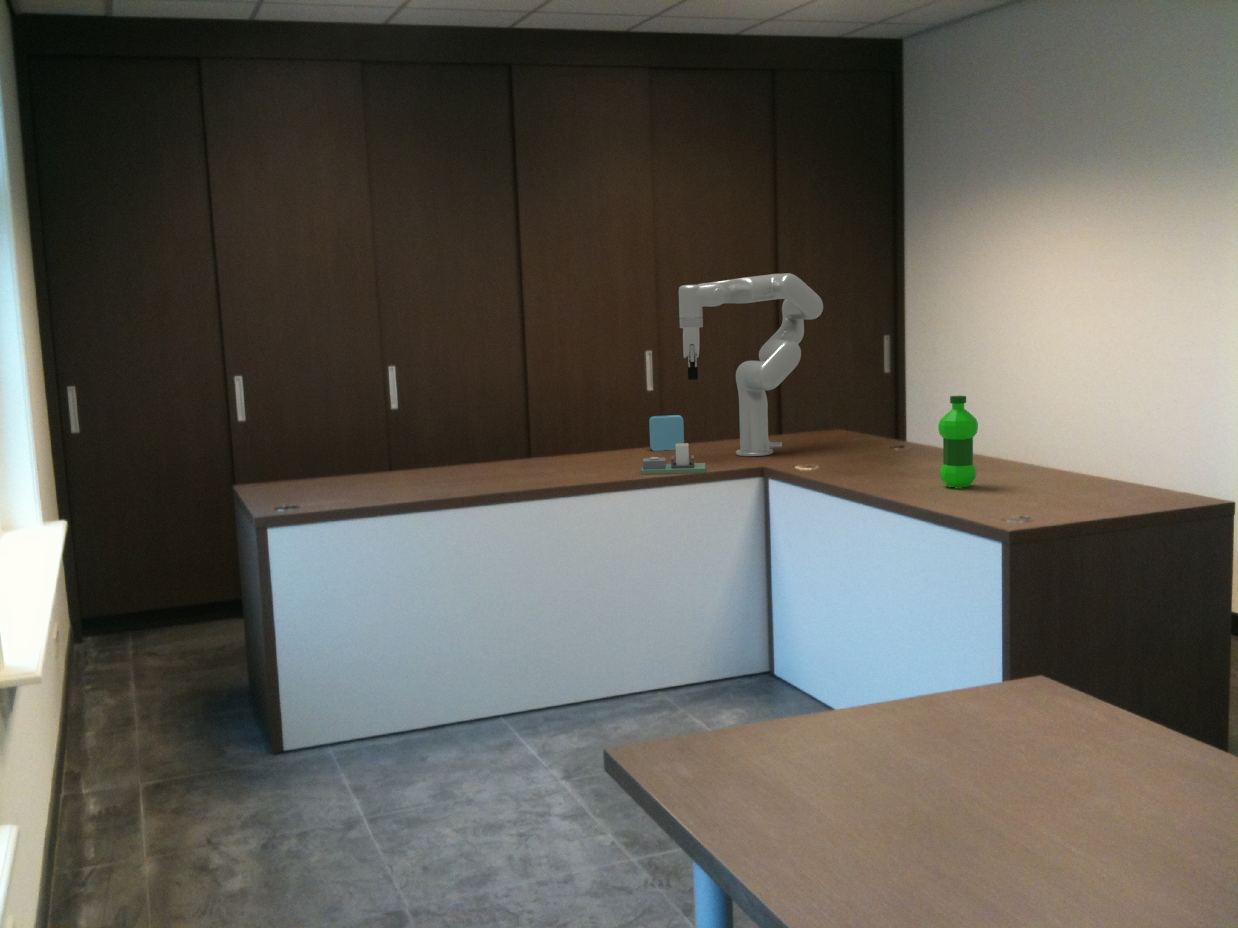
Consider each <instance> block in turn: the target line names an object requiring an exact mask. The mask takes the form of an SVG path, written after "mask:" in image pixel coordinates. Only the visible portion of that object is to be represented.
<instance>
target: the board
mask: <svg viewBox="0 0 1238 928" xmlns="http://www.w3.org/2000/svg"><path fill="white" fill-rule="evenodd" d="M690 457H691V459H690V460H691V461H689V465H676V462H675V456H674V455H671V457H670V458H671V459H670V461H671V462H670V463H668V464H667V463H666V462H667V461H666V457H659V456H652V457H645V458H644V457H643V459H642V466H641V470H640V474H641V475H669V474H696V473H697V474H700V473H701V474H703V473H706V463H705V462H695V455H694V454H692V455H691V456H690Z"/></svg>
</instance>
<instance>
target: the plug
mask: <svg viewBox="0 0 1238 928" xmlns="http://www.w3.org/2000/svg"><path fill="white" fill-rule="evenodd" d="M689 451H690V450H689V443H687V442H684V443H680V444H676V450H675V463H676V465H689V462H690V453H689Z"/></svg>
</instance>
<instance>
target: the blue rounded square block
mask: <svg viewBox="0 0 1238 928" xmlns="http://www.w3.org/2000/svg"><path fill="white" fill-rule="evenodd" d="M684 422H685V421H684V418H683V416H681V415H679V414H677V415H676V414H673V415H654V416H650V417H649V420H648V424H649V427H648V428H649V446H650V450H652V451H653V452H665V451H664V450H669V451H676V444H680V443H685V424H684Z"/></svg>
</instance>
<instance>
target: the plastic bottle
mask: <svg viewBox="0 0 1238 928" xmlns="http://www.w3.org/2000/svg"><path fill="white" fill-rule="evenodd" d="M949 404H951V409H950V410H949V411H948V412H947V413H946V414H945V415H943V417H941V419H940V420H939V422H938V429H937V430H938V433H939V435H940V436H941V437H942V445H943V448H942V449H943V452H942V457H943V458H942V459H943V460H942V461H943V463H942V465H941V467H940V470H939V478H940V480H941V481H942V483H944V485H946V486H950V487H967V486H968V487H969V486H970V485H971V484H972V483H973V482H974V481H975V479H976V476H977V469H976V468H977V467H976V466H975V464H974V437H975V436H976V435H977V433H978V430H979V429H978V428H979V422H978V420H977V418H976V417H975V416H974V415H973V414H972V413H970V411H968V410H967V409H965V404H967V396H966V395H950V396H949ZM950 487H949V488H950ZM968 487H967V488H968Z"/></svg>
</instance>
